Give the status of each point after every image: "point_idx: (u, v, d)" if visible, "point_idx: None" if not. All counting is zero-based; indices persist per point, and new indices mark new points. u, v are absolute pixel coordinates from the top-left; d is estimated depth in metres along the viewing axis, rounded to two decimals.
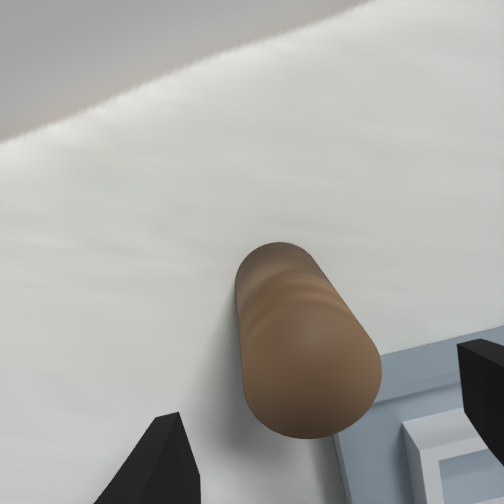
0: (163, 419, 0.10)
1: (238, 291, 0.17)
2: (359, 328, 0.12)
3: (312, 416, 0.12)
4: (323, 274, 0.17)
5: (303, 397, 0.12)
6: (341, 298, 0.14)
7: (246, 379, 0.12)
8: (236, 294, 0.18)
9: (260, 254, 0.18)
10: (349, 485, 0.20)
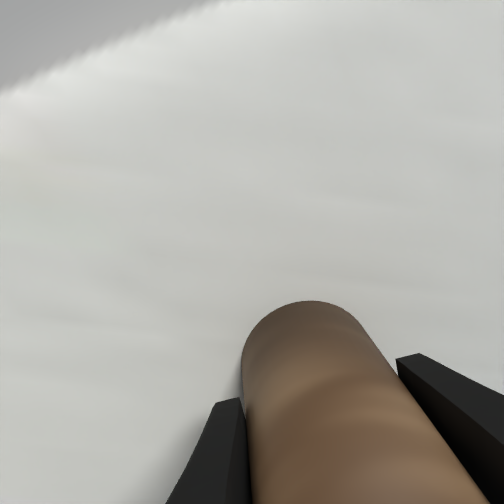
0: (225, 404, 0.10)
1: (248, 391, 0.11)
2: None
3: None
4: (392, 371, 0.10)
5: None
6: (444, 440, 0.08)
7: None
8: (244, 390, 0.11)
9: (282, 325, 0.11)
10: None
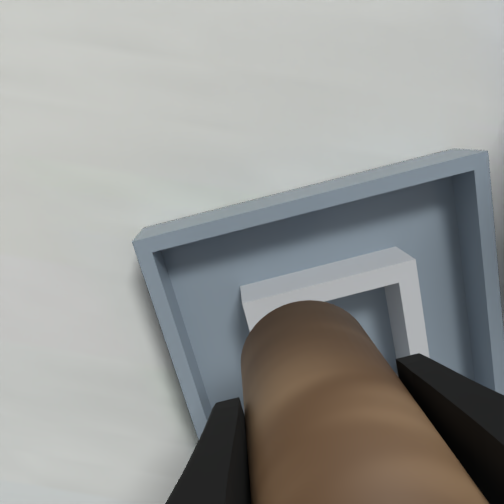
0: (225, 404, 0.10)
1: (246, 392, 0.11)
2: None
3: None
4: (390, 369, 0.10)
5: None
6: (441, 438, 0.08)
7: None
8: (243, 391, 0.11)
9: (280, 325, 0.11)
10: (169, 350, 0.18)
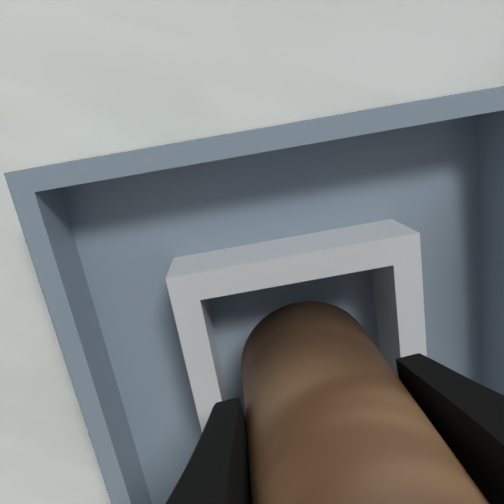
0: (225, 404, 0.10)
1: (247, 393, 0.11)
2: None
3: None
4: (391, 370, 0.10)
5: None
6: (442, 440, 0.08)
7: None
8: (244, 392, 0.11)
9: (281, 326, 0.11)
10: (60, 339, 0.12)
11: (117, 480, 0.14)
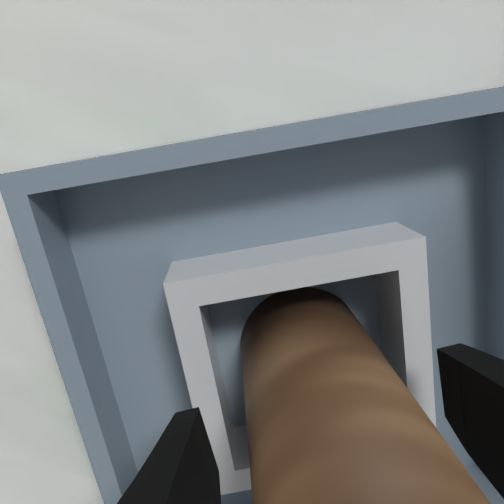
0: (184, 414, 0.10)
1: (245, 367, 0.12)
2: None
3: None
4: (374, 345, 0.11)
5: None
6: (415, 400, 0.09)
7: None
8: (242, 368, 0.12)
9: (276, 308, 0.13)
10: (54, 346, 0.12)
11: (113, 491, 0.13)
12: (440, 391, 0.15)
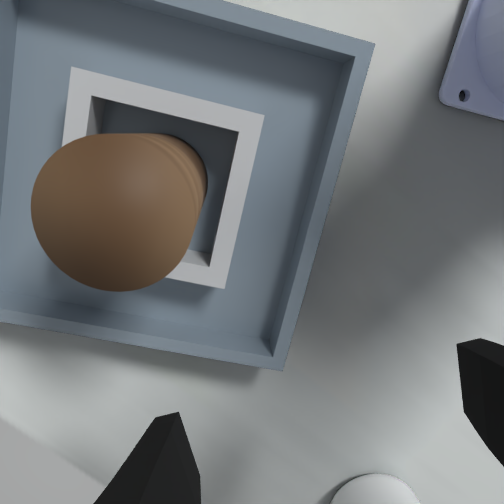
0: (163, 419, 0.10)
1: None
2: (181, 176, 0.10)
3: (101, 261, 0.11)
4: (198, 166, 0.15)
5: (97, 234, 0.11)
6: (196, 177, 0.13)
7: (37, 186, 0.10)
8: None
9: None
10: None
11: None
12: (251, 265, 0.20)
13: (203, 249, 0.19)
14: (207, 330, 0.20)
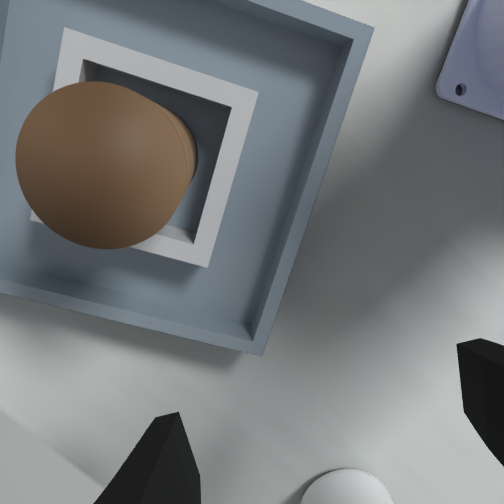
0: (163, 419, 0.10)
1: None
2: (173, 131, 0.10)
3: (86, 215, 0.11)
4: (189, 136, 0.15)
5: (83, 187, 0.10)
6: (188, 143, 0.13)
7: (24, 132, 0.10)
8: None
9: None
10: None
11: None
12: (237, 247, 0.19)
13: (189, 228, 0.19)
14: (188, 311, 0.20)
